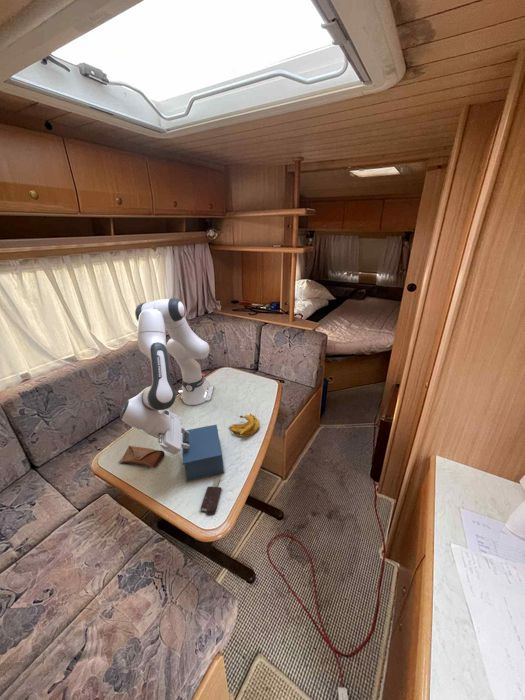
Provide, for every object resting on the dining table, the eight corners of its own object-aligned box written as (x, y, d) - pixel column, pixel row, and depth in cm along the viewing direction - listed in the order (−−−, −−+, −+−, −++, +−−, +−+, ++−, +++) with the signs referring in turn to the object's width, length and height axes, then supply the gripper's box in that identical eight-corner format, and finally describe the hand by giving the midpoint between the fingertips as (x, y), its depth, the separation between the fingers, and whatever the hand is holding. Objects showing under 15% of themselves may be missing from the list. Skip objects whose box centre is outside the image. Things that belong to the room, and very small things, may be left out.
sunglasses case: (118, 463, 120) (120, 447, 120) (128, 459, 127) (130, 444, 127) (155, 468, 116) (157, 452, 117) (163, 464, 123) (165, 449, 124)
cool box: (187, 480, 111) (184, 464, 107) (187, 447, 128) (184, 432, 125) (224, 472, 114) (222, 456, 111) (218, 440, 132) (216, 425, 128)
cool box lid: (182, 464, 107) (180, 454, 105) (182, 432, 125) (180, 423, 123) (222, 456, 111) (221, 446, 109) (216, 425, 128) (215, 416, 126)
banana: (262, 417, 147) (261, 408, 145) (256, 442, 130) (255, 432, 128) (234, 415, 150) (233, 406, 147) (225, 439, 132) (224, 430, 130)
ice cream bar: (211, 478, 111) (200, 513, 98) (211, 475, 111) (199, 510, 97) (224, 479, 111) (214, 514, 97) (223, 476, 110) (214, 511, 97)
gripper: (163, 438, 100) (194, 452, 106) (166, 406, 118) (192, 420, 124) (152, 450, 100) (183, 464, 107) (157, 417, 119) (183, 430, 125)
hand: (188, 440), depth 115 cm, fingers closed on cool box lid, 6 cm apart
